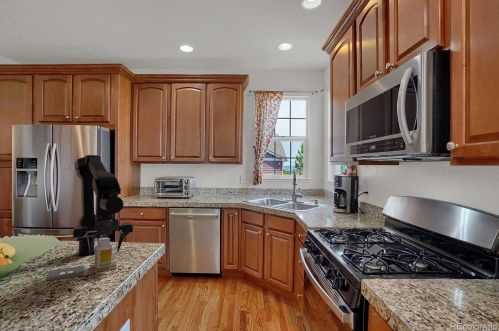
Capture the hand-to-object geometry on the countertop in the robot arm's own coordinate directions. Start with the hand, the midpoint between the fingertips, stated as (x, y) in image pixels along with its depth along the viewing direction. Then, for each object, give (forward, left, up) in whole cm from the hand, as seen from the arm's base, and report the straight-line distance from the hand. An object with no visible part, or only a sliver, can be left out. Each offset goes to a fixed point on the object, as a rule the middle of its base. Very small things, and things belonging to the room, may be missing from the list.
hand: (103, 253), depth 98 cm
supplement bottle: (0, 0, -5) cm, 5 cm away
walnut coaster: (0, 0, -5) cm, 5 cm away
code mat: (+1, -11, -5) cm, 12 cm away
